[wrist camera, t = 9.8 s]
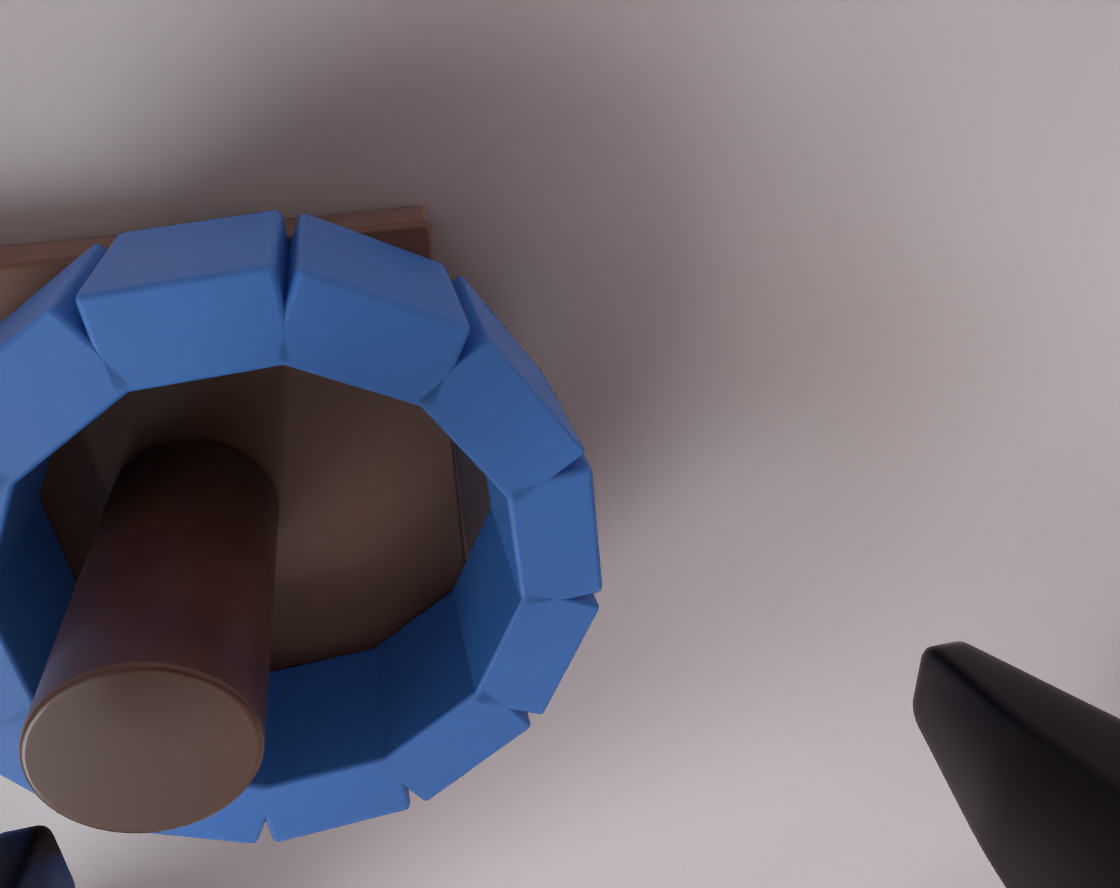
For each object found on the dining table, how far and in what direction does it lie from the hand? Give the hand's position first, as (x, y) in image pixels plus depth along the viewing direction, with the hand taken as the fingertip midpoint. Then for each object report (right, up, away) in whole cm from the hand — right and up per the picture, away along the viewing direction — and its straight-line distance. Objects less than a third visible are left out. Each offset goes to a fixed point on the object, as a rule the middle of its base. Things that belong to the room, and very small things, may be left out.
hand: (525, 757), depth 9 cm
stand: (-5, +3, +5) cm, 8 cm away
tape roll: (-4, +2, +5) cm, 7 cm away
